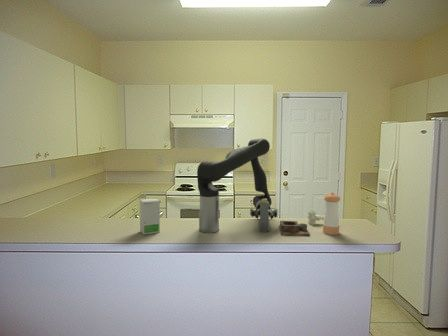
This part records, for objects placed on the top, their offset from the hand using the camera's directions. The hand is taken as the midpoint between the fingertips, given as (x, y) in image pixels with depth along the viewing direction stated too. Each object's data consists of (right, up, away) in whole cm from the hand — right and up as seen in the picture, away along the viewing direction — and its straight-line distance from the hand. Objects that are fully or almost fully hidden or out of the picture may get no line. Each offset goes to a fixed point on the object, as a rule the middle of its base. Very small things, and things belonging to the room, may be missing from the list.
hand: (264, 216), depth 150 cm
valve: (+31, -6, +15) cm, 34 cm away
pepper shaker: (+32, -8, +1) cm, 33 cm away
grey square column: (0, -7, +3) cm, 8 cm away
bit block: (+14, -7, +2) cm, 16 cm away
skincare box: (-55, -8, +2) cm, 55 cm away
